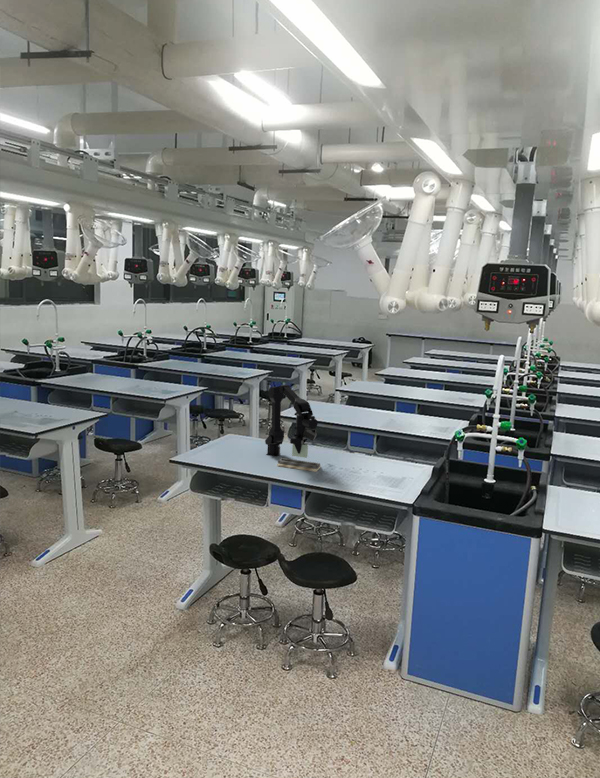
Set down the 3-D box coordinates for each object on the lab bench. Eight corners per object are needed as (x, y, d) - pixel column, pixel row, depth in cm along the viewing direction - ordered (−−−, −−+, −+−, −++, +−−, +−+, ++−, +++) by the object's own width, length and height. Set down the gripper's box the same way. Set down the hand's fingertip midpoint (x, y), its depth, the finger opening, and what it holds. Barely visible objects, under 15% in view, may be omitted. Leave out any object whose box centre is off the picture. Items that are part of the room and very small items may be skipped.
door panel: (292, 455, 312) (292, 443, 310) (293, 454, 314) (293, 442, 312) (306, 457, 309) (307, 445, 308) (307, 456, 311) (308, 444, 310)
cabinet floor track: (277, 465, 311) (277, 461, 311) (282, 461, 320) (282, 457, 319) (316, 471, 305) (316, 467, 305) (320, 467, 314) (320, 462, 313)
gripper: (311, 430, 297) (309, 459, 300) (320, 422, 315) (318, 450, 318) (290, 428, 300) (288, 456, 303) (300, 420, 318) (299, 447, 321)
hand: (299, 452), depth 311 cm, fingers closed on door panel, 2 cm apart
